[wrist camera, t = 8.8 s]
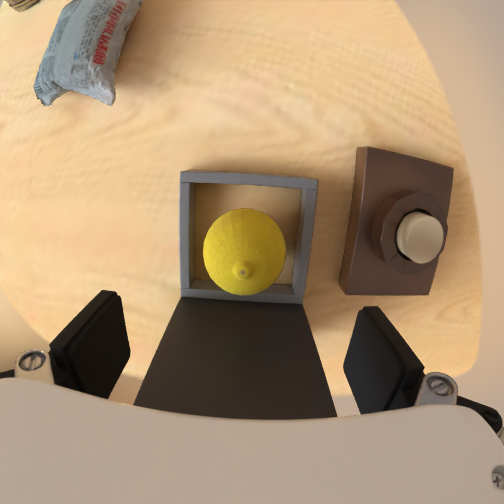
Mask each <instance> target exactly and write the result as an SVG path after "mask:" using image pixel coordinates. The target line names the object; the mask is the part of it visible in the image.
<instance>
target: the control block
mask: <svg viewBox="0 0 504 504" xmlns="http://www.w3.org/2000/svg"><path fill="white" fill-rule="evenodd" d="M453 171H454V169H453V168H451V167H448V166H445V165H441V164H438V163H434V162H431V161H427V160H423V159H420V158H416V157H412V156H408V155H404V154H399V153H395V152H391V151H386V150H381V149H376V148H371V147H358V148H357V155H356V166H355V177H354V186H353V195H352V203H351V211H350V219H349V226H348V233H347V239H346V245H345V252H344V257H343V263H342V269H341V274H340V280H339V285H340V287H341V289H342V290H343V292H344V293H345V295H429V292H430V289H431V285H432V282H433V278H434V275H435V271H436V267H437V263H438V259H439V255H440V254H441V252H442V251H443V249H444V245H445V241H446V236H447V231H448V226H447V216H448V210H449V204H450V197H451V189H452V180H453ZM412 212H422V213H424V214H427V215H429V216H432V217H434V218H436V219H437V220H438V221H439V222H440V224H441V226H442V229H443V244H442V247H441V249H440V251H439V253H438V254H437V255H436V257H435V258H434V259H432V260H431V261H429V262H427V263H416V262H414V261H413V260H411V259H410V258H408V257H407V256H406V255H404V254H403V253H402V252H401V251H400V250H399V248H398V245H397V241H396V233H397V229H398V226H399V224H400V222H401V221H402V219H403V218H404V217H405V216H407V215H408V214H410V213H412Z"/></svg>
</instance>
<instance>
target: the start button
mask: <svg viewBox="0 0 504 504" xmlns="http://www.w3.org/2000/svg"><path fill="white" fill-rule="evenodd" d="M396 241H397V245H398V248H399V250H400V251H401V252H402V253H403V254H404V255H406V256H407V257H408V258H410V259H411V260H413V261H414V262H416V263H427V262H429V261H431V260H432V259H434V258H435V257H436V255H437V254H438V253H439V251H440V249H441V247H442V244H443V229H442V226H441V224H440V222H439V221H438V220H437V219H436V218H434V217H432V216H429V215H427V214H424V213H422V212H412V213H410V214H408V215H407V216H405V217H404V218H403V219H402V221H401V222H400V224H399V226H398V229H397V233H396Z"/></svg>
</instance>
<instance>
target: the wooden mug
mask: <svg viewBox="0 0 504 504" xmlns="http://www.w3.org/2000/svg"><path fill="white" fill-rule="evenodd" d="M5 1H7V2H8V3H9V6H10V7H12V8H13V9H15V10H16V11H19V12H20V11H24V10H26V9H27V8H29V7H31V6H32V5H34V4H35V3H36V2H38V1H39V0H5Z"/></svg>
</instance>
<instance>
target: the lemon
mask: <svg viewBox="0 0 504 504" xmlns="http://www.w3.org/2000/svg"><path fill="white" fill-rule="evenodd" d="M203 257H204V263H205V267H206V269H207V271H208V273H209V275H210V277H211V278H212V280H213V281H214V282H215V283H216V284H217V285H218V286H219V287H221V288H222V289H223V290H225V291H227V292H230V293H232V294H237V295H252V294H256V293H259V292H261V291H263V290H265V289H267V288H268V287H269V286H270V285H272V284H273V283H274V282H275V281H276V279H277V278H278V276H279V275H280V273H281V271H282V269H283V265H284V262H285V257H286V245H285V241H284V236H283V234H282V232H281V230H280V228H279V226H278V225H277V224H276V223H275V222H274V221H273V220H272V218H271V217H269V216H267V215H266V214H264V213H263V212H260V211H257V210H254V209H247V208H241V209H235V210H231V211H229V212H227V213H225V214H223V215H222V216H221V217H219V218H218V219H217V220H216V221H215V222H214V223H213V224H212V226H211V227H210V229H209V230H208V232H207V235H206V238H205V240H204V247H203Z"/></svg>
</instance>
